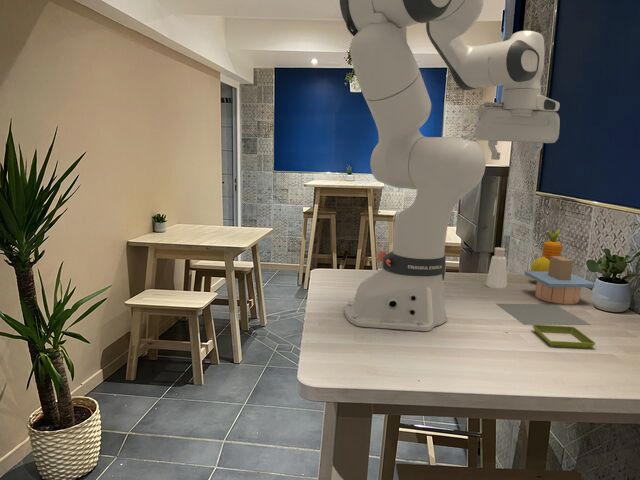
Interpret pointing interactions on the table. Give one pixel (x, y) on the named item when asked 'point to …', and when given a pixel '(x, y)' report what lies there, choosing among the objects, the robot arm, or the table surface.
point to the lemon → (541, 265)
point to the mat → (542, 314)
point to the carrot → (552, 246)
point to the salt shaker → (497, 270)
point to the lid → (559, 274)
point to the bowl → (558, 294)
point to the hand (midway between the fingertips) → (513, 160)
